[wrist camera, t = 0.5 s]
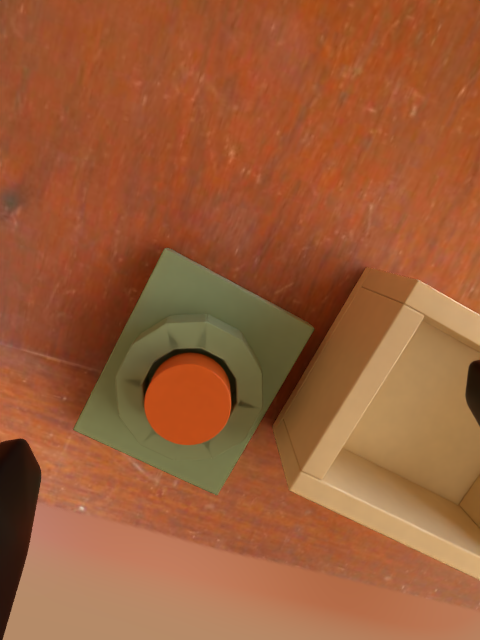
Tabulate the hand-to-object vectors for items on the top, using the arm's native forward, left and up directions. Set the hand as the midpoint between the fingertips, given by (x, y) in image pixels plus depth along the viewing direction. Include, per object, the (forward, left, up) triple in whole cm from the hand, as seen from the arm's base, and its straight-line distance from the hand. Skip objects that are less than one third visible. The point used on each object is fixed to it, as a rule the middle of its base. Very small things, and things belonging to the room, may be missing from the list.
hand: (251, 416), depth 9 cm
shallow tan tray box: (0, -11, -13) cm, 17 cm away
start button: (-4, 0, -11) cm, 11 cm away
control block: (-4, 0, -13) cm, 14 cm away
